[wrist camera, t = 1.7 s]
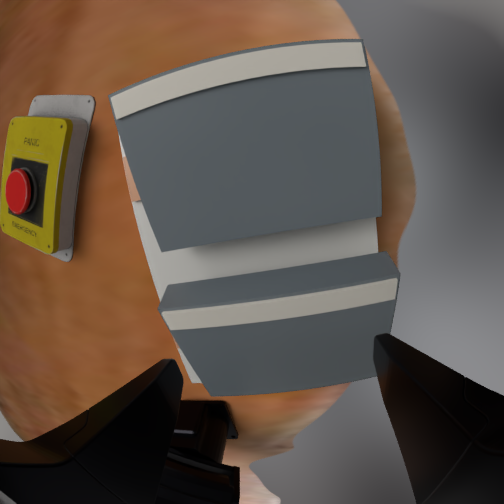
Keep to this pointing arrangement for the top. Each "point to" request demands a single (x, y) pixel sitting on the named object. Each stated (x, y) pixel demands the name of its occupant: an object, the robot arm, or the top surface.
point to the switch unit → (248, 251)
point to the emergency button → (45, 172)
